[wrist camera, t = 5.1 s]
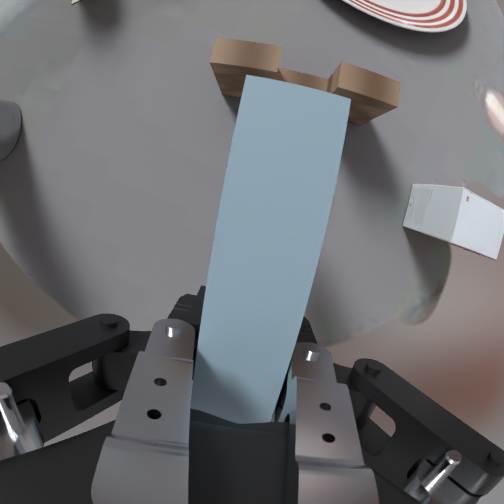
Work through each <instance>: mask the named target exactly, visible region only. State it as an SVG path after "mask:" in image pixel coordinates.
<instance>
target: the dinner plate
mask: <svg viewBox="0 0 504 504" xmlns="http://www.w3.org/2000/svg"><path fill="white" fill-rule="evenodd" d="M342 1H344V2H346V3H347V4H349V5H351V6H353V7H354V8H356V9H358V10H361V11H362V12H364V13H366V14H368V15H371V16H373V17H375V18H378V19H380V20H382V21H385V22H387V23H390V24H393V25H396V26H399V27H402V28H406V29H410V30H414V31H420V32H430V33H435V32H444V31H448V30H451V29H453V28H455V27H457V26H458V25H459V24H460V23H461V22H462V21H463V19H464V17H465V14H466V9H467V3H466V0H342Z"/></svg>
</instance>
